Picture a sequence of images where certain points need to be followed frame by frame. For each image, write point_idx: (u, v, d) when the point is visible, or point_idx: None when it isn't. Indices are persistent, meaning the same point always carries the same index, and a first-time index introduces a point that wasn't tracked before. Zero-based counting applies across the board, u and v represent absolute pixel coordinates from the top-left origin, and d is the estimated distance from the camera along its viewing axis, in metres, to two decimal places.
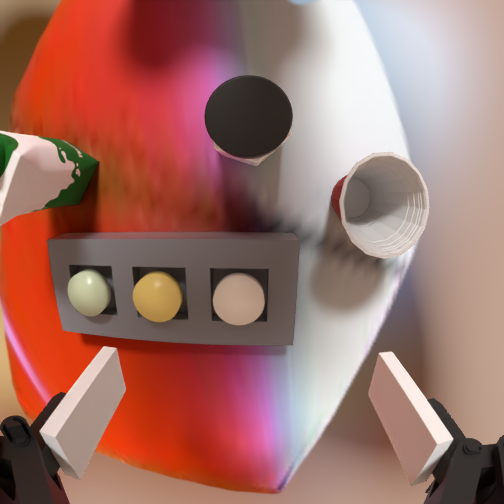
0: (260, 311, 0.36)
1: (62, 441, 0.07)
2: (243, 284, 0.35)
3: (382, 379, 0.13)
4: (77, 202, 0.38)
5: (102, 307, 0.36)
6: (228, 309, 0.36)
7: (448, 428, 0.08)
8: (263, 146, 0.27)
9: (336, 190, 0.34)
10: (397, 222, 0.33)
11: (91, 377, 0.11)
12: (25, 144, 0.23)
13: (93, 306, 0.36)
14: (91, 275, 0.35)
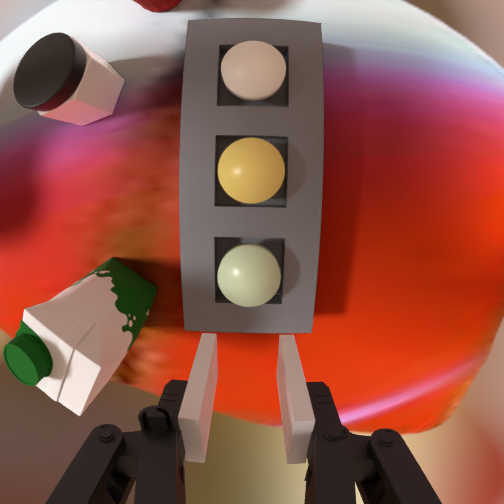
0: (265, 45, 0.24)
1: (200, 423, 0.10)
2: (229, 61, 0.24)
3: (280, 359, 0.15)
4: (153, 286, 0.36)
5: (265, 253, 0.29)
6: (263, 79, 0.25)
7: (325, 411, 0.11)
8: (67, 48, 0.19)
9: (141, 0, 0.24)
10: None
11: (206, 361, 0.13)
12: None
13: (265, 268, 0.29)
14: None
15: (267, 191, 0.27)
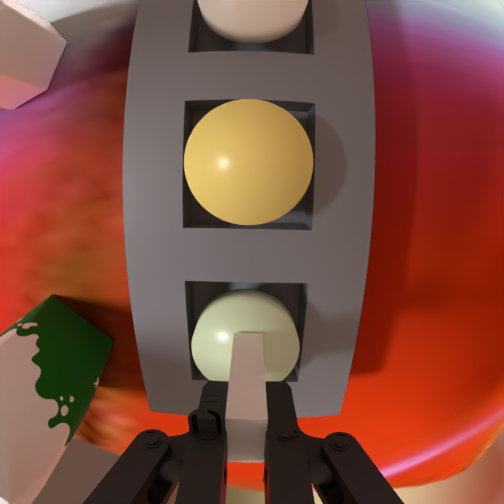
0: None
1: None
2: None
3: None
4: (106, 340, 0.23)
5: (275, 313, 0.16)
6: (270, 3, 0.12)
7: (283, 411, 0.11)
8: None
9: None
10: None
11: (243, 360, 0.13)
12: None
13: (274, 336, 0.16)
14: (196, 327, 0.16)
15: (280, 202, 0.14)
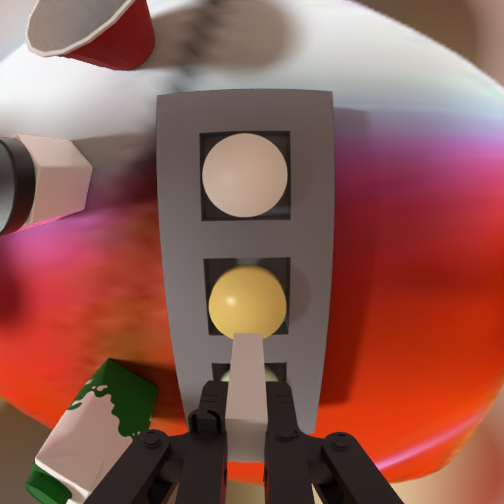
0: (260, 139, 0.21)
1: None
2: (213, 168, 0.21)
3: None
4: (153, 388, 0.33)
5: (266, 379, 0.26)
6: (257, 192, 0.21)
7: (283, 411, 0.11)
8: (6, 164, 0.16)
9: (97, 64, 0.20)
10: None
11: (243, 360, 0.13)
12: None
13: None
14: None
15: (266, 329, 0.24)
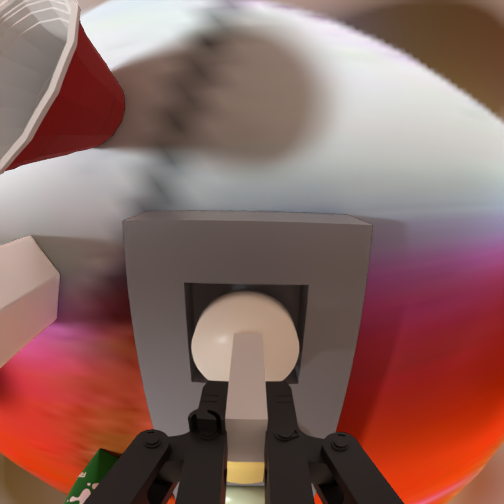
0: (267, 311, 0.16)
1: None
2: (204, 342, 0.16)
3: None
4: None
5: (260, 499, 0.21)
6: None
7: (283, 411, 0.11)
8: None
9: None
10: None
11: (243, 360, 0.13)
12: None
13: None
14: None
15: (263, 476, 0.19)
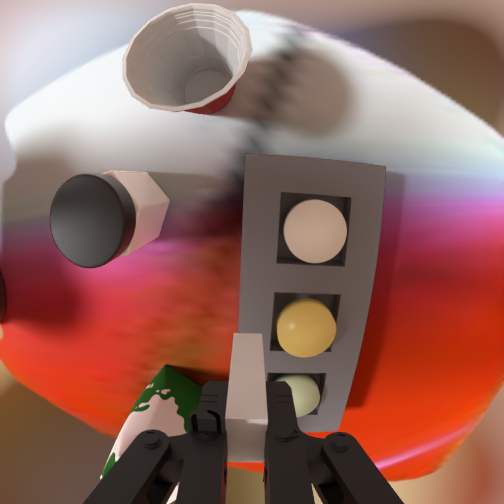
0: (330, 206, 0.28)
1: None
2: (293, 224, 0.28)
3: None
4: None
5: (310, 385, 0.33)
6: (324, 245, 0.29)
7: (283, 411, 0.11)
8: (113, 205, 0.22)
9: None
10: (219, 37, 0.23)
11: (243, 360, 0.13)
12: (117, 445, 0.25)
13: (309, 394, 0.33)
14: None
15: (319, 348, 0.30)
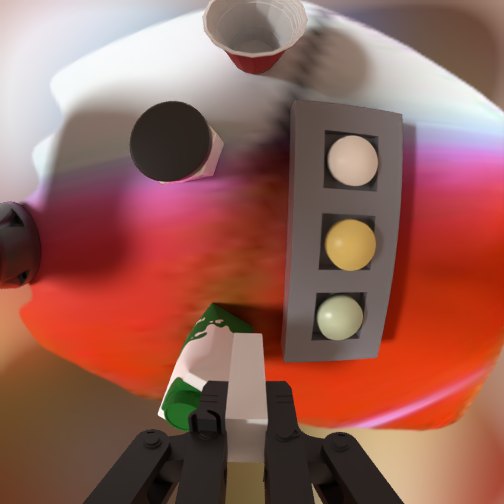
0: (363, 140, 0.33)
1: None
2: (337, 154, 0.33)
3: None
4: (251, 327, 0.44)
5: (354, 303, 0.37)
6: (361, 171, 0.34)
7: (283, 411, 0.11)
8: (198, 125, 0.27)
9: (245, 66, 0.32)
10: (273, 11, 0.27)
11: (243, 360, 0.13)
12: (180, 370, 0.29)
13: (353, 312, 0.38)
14: (322, 311, 0.38)
15: (362, 261, 0.35)
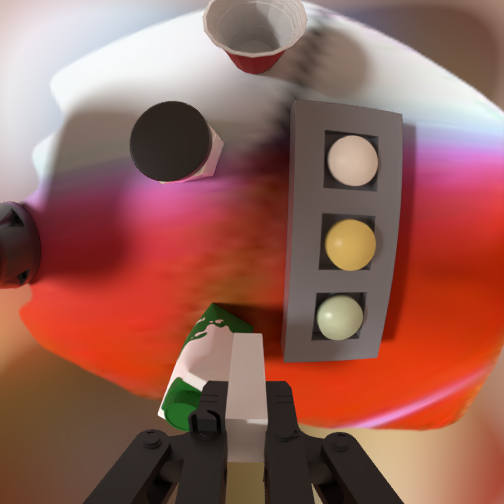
0: (363, 140, 0.33)
1: None
2: (337, 154, 0.33)
3: None
4: (251, 327, 0.44)
5: (354, 303, 0.37)
6: (361, 171, 0.34)
7: (283, 411, 0.11)
8: (198, 125, 0.27)
9: (245, 66, 0.32)
10: (273, 11, 0.27)
11: (243, 360, 0.13)
12: (180, 370, 0.29)
13: (353, 312, 0.38)
14: (322, 311, 0.38)
15: (362, 261, 0.35)
